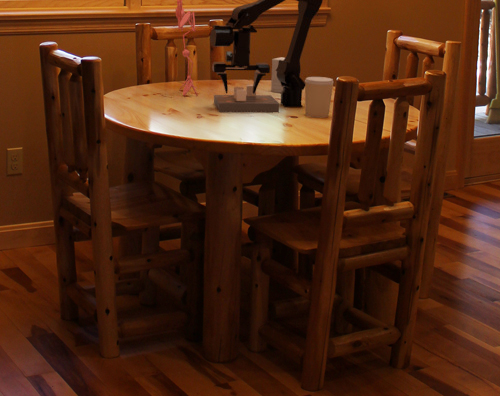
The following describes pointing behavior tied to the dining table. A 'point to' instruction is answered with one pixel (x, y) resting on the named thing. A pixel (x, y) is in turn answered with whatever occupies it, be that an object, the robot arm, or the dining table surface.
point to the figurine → (182, 21)
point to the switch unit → (246, 104)
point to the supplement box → (274, 81)
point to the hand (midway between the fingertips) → (240, 93)
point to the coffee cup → (318, 96)
